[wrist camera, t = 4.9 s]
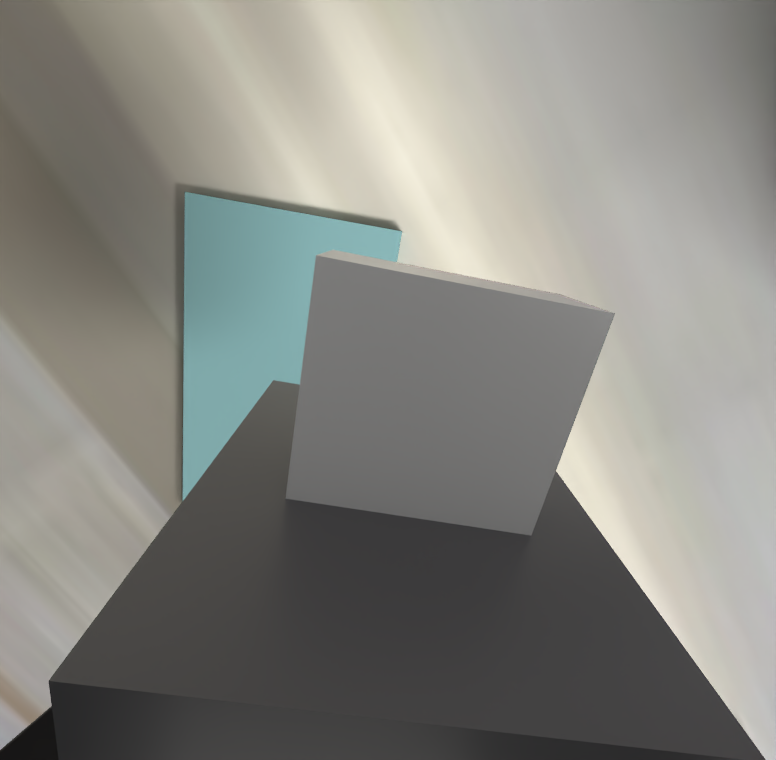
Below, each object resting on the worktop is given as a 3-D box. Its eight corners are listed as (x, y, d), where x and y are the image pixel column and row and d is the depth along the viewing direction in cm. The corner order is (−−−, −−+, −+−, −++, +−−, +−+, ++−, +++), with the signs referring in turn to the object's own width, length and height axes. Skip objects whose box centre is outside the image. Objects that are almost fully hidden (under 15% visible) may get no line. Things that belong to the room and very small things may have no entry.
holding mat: (350, 527, 20) (350, 533, 20) (186, 505, 20) (182, 511, 19) (401, 231, 16) (401, 231, 15) (189, 192, 15) (184, 191, 15)
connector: (414, 747, 10) (438, 1176, 6) (237, 728, 10) (109, 1165, 5) (564, 287, 7) (1031, 429, 2) (288, 233, 6) (-9, 235, 2)
